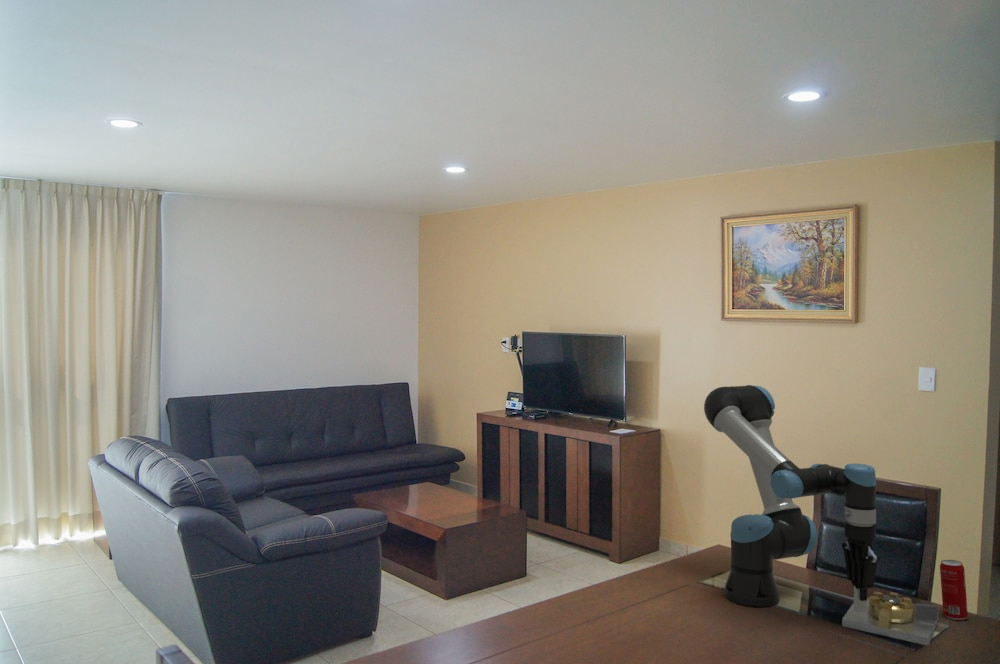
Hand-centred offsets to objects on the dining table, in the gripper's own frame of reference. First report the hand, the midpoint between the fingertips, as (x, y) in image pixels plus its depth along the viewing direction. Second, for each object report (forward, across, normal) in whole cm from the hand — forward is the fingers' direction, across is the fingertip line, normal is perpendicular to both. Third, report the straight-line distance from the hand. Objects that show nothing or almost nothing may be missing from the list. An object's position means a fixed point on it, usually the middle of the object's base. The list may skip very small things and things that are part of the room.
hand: (860, 610), depth 195 cm
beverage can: (+4, -1, +29) cm, 29 cm away
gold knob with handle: (+2, +2, +7) cm, 7 cm away
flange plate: (+4, 0, +9) cm, 10 cm away
